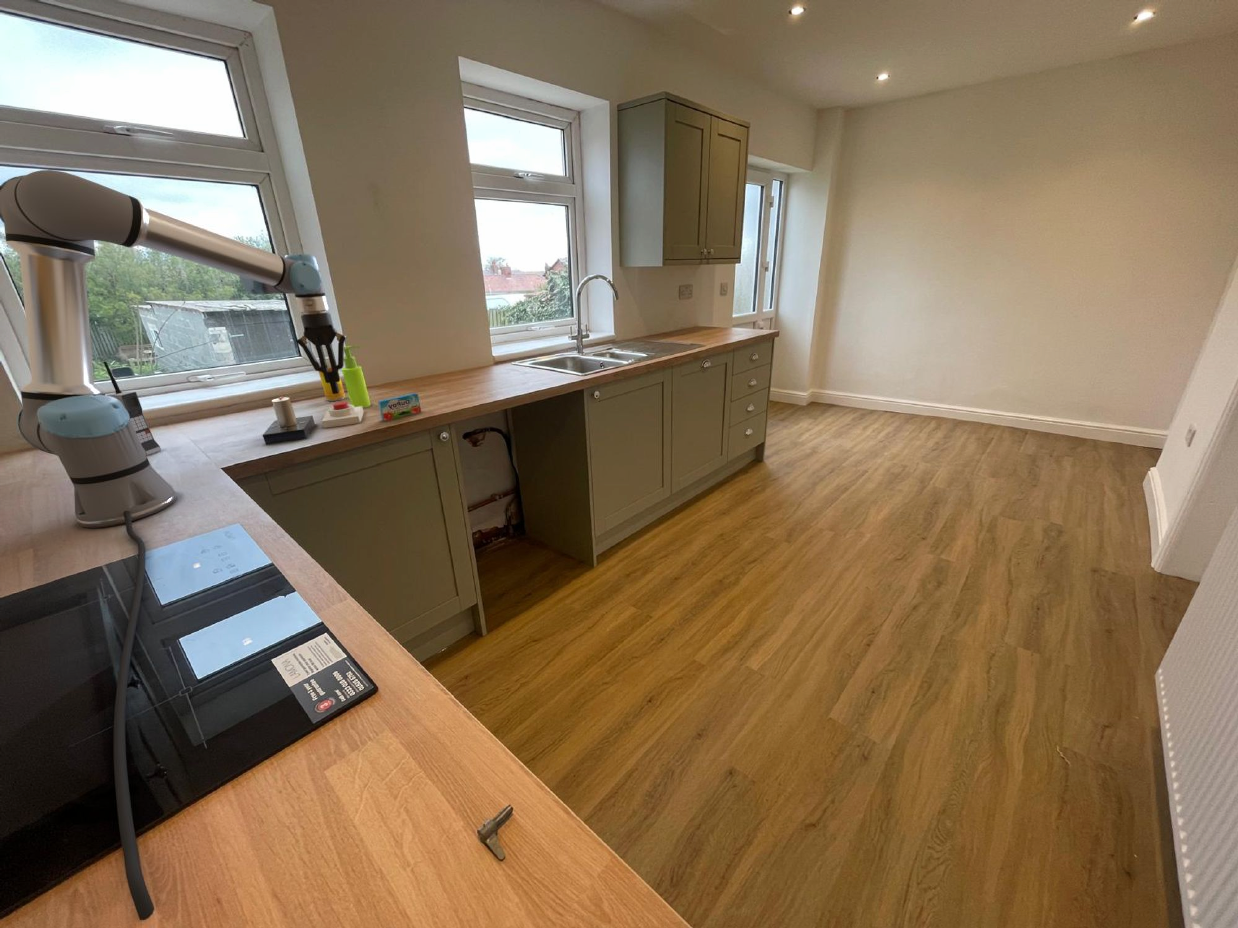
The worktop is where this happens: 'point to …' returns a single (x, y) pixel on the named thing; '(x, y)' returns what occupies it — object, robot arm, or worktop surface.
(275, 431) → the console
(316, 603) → the worktop surface
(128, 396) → the vintage mobile phone
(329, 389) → the yellow bottle
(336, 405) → the power button
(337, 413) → the switch block
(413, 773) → the worktop surface
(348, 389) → the soap dispenser
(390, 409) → the yogurt
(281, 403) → the beige upright cylinder
